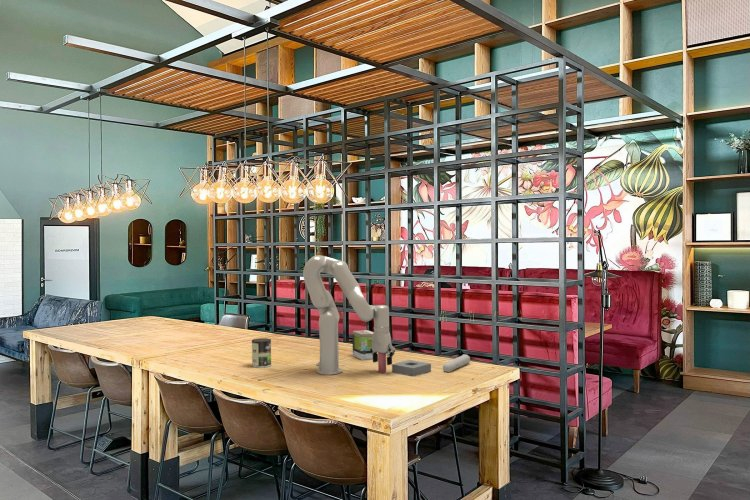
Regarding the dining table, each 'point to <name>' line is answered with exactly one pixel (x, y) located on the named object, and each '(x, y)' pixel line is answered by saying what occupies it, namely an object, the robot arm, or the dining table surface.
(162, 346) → the dining table surface
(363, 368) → the dining table surface
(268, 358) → the coffee can
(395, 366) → the socket block
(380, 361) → the peg
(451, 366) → the tube
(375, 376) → the dining table surface
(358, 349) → the tea box
